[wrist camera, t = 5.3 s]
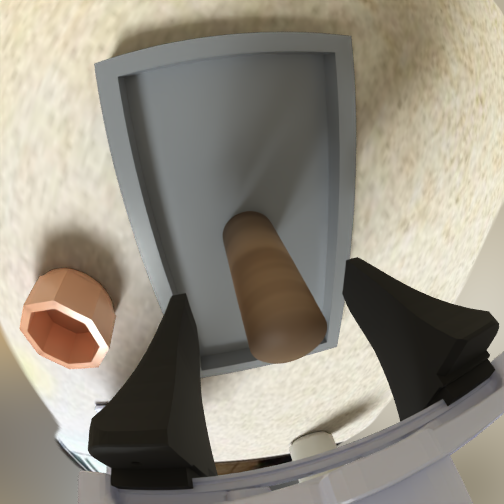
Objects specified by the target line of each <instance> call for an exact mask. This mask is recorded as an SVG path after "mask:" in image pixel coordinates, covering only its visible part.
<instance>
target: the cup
mask: <svg viewBox="0 0 504 504" xmlns="http://www.w3.org/2000/svg"><path fill="white" fill-rule="evenodd" d="M115 318H116V315H115V313H114V310H113V304H112V301H111V298H110V296H109V295H108V293H107V292H106V290H105V289H104V288H103V287H102V286H101V285H100V284H99V283H98V282H97V281H96V280H95V279H93V278H92V277H90V276H89V275H87V274H85V273H83V272H80V271H78V270H74V269H69V268H58V269H54V270H51V271H49V272H47V273H46V274H45V275H43V276H39V278H38V280H37V281H36V283H35V285H34V287H33V289H32V290H31V292H30V294H29V296H28V298H27V300H26V301H25V303H24V305H23V311H22V317H21V323H20V330H21V332H22V333H23V334H24V336H25V337H26V338H27V340H28V341H29V342H30V344H31V345H32V346H33V348H34V349H35V350H36V352H37V353H38V354H39V355H41V356H43V357H45V358H47V359H49V360H51V361H53V362H55V363H57V364H60V365H62V366H64V367H66V368H68V369H81V368H95V367H99V365H100V363H101V362H102V360H103V358H104V357H105V355H106V353H107V352H108V350H109V349H110V343H111V338H112V333H113V328H114V323H115Z"/></svg>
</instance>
